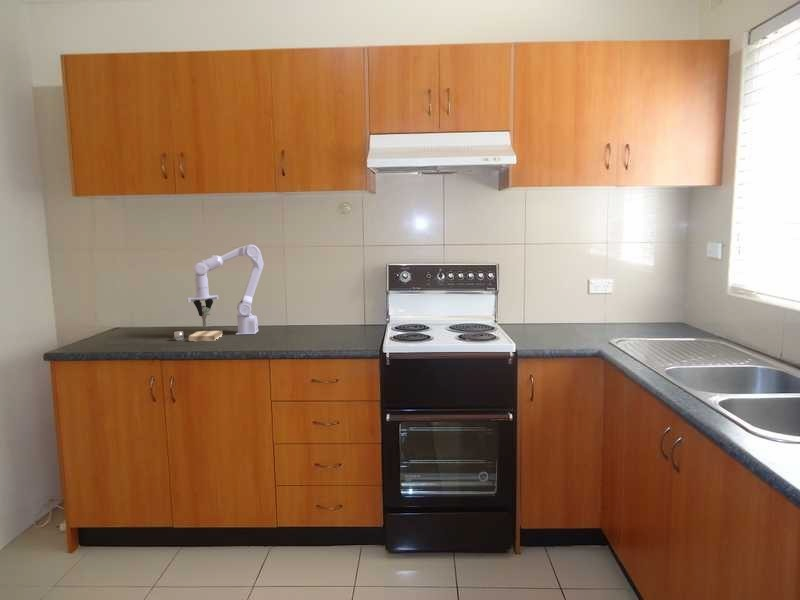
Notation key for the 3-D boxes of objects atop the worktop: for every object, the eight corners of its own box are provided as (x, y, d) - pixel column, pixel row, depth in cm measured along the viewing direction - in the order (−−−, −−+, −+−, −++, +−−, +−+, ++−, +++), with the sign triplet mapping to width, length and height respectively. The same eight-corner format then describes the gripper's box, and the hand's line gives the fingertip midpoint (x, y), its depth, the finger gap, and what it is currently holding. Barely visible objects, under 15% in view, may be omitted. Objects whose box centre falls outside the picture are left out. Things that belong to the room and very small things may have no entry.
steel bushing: (185, 339, 261) (184, 330, 261) (181, 341, 257) (181, 332, 257) (176, 339, 261) (176, 331, 261) (173, 341, 257) (172, 332, 257)
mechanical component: (205, 329, 261) (204, 308, 260) (197, 326, 269) (196, 305, 267) (211, 328, 263) (210, 307, 261) (203, 325, 270) (203, 305, 269)
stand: (222, 335, 267) (222, 330, 267) (214, 340, 255) (214, 335, 255) (197, 336, 267) (197, 331, 267) (188, 341, 255) (188, 336, 255)
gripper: (214, 285, 270) (216, 312, 272) (184, 288, 262) (186, 316, 264) (219, 286, 265) (221, 314, 267) (188, 289, 256) (190, 318, 258)
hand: (204, 315), depth 265 cm, fingers closed on mechanical component, 3 cm apart
